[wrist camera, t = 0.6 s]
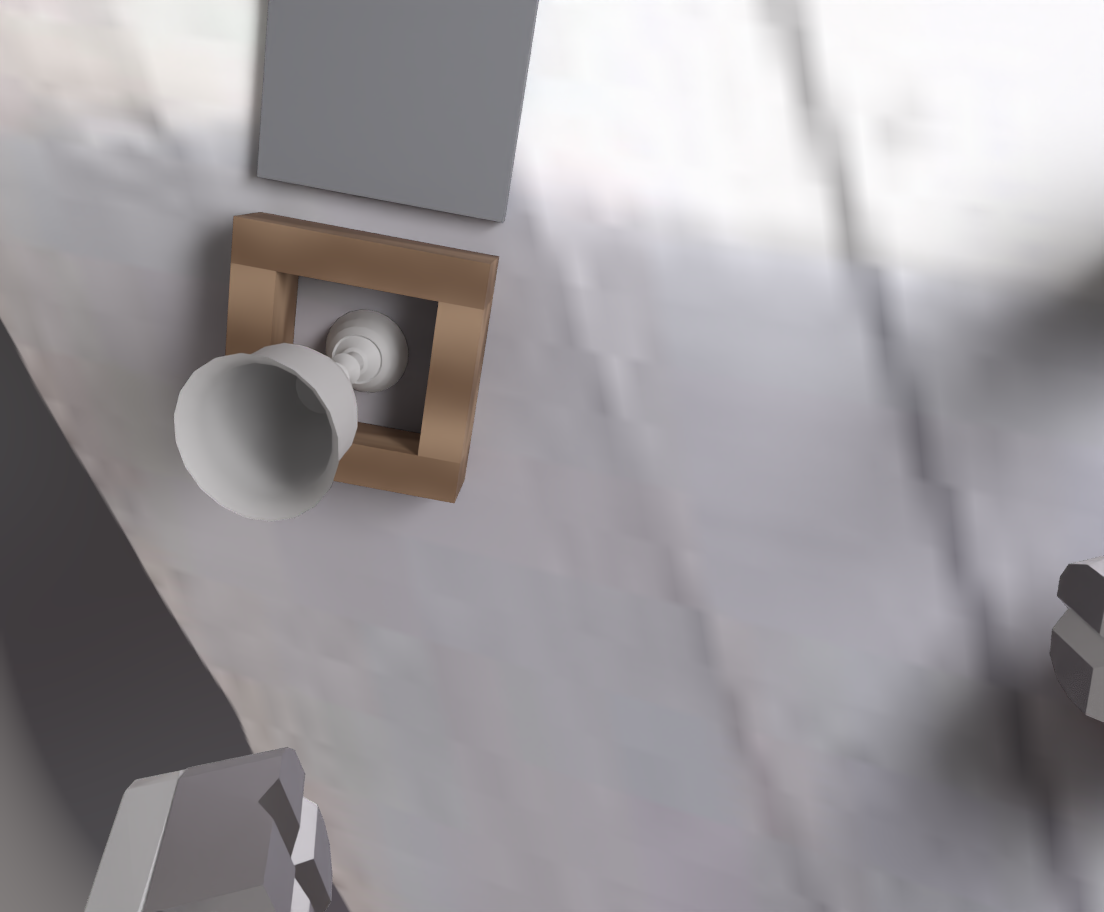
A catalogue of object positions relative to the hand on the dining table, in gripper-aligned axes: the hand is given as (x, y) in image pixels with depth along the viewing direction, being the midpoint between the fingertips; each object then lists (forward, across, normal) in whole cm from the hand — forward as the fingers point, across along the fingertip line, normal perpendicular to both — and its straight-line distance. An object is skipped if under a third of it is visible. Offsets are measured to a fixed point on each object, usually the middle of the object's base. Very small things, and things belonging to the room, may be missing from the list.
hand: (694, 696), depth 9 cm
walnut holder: (+45, +7, +11) cm, 47 cm away
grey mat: (+47, +2, -4) cm, 47 cm away
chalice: (+45, +7, +11) cm, 47 cm away
